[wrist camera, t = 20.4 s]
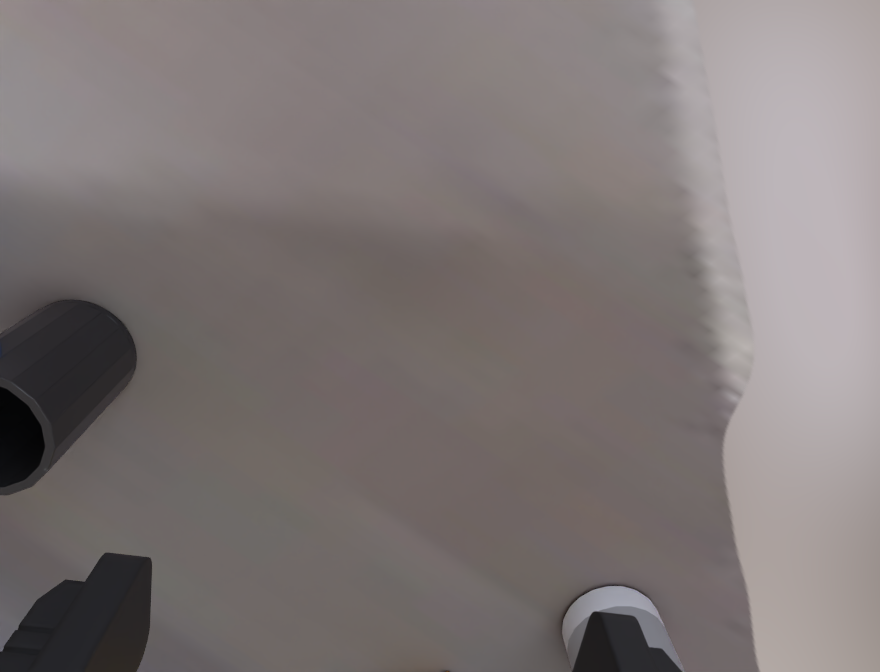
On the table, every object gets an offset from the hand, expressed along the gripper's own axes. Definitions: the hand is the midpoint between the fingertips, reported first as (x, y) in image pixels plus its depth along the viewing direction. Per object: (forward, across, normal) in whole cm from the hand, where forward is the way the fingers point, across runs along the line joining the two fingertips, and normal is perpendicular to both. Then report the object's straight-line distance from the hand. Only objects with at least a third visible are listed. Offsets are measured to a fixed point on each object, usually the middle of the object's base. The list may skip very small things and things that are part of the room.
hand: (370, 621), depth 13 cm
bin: (+28, +17, +9) cm, 34 cm away
